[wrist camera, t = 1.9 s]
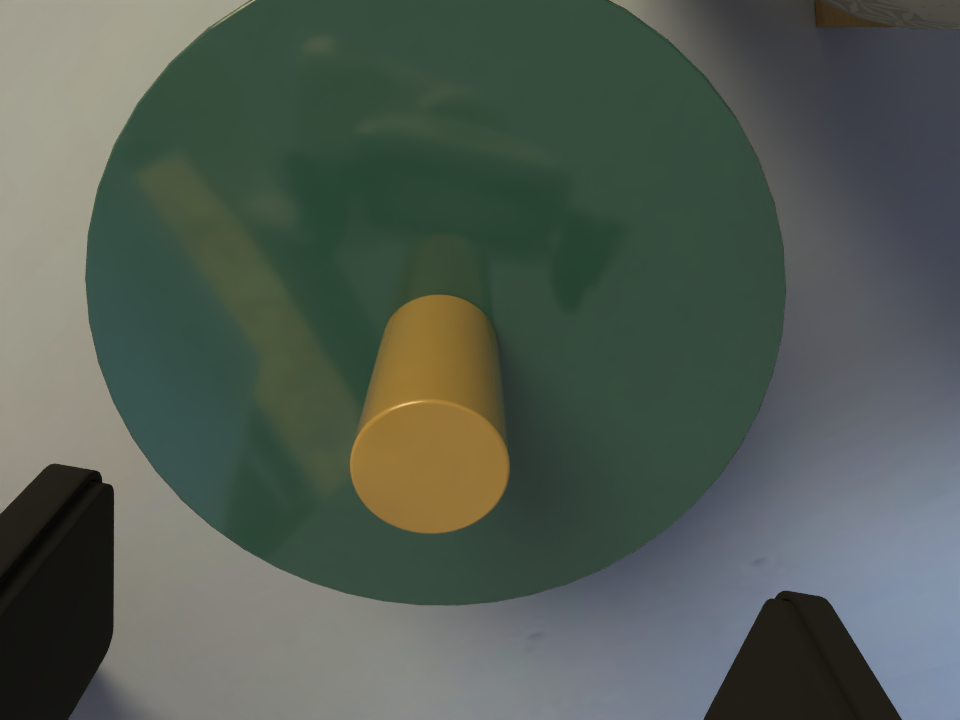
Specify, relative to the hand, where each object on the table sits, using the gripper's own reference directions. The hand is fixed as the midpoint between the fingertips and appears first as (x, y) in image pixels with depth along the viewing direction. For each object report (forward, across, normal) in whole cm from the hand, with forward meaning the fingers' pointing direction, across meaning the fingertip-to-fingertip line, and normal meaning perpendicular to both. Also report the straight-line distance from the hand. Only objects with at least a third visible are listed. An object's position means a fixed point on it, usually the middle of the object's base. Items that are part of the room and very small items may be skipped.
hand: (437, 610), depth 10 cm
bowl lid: (+10, 0, 0) cm, 10 cm away
